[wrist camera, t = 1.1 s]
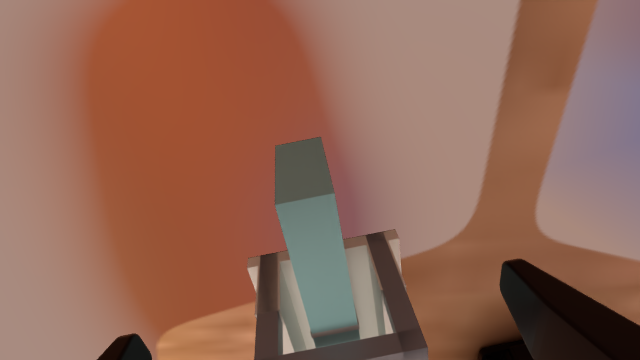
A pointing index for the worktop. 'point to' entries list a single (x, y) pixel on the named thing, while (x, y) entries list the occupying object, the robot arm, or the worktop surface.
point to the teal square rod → (315, 240)
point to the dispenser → (369, 299)
